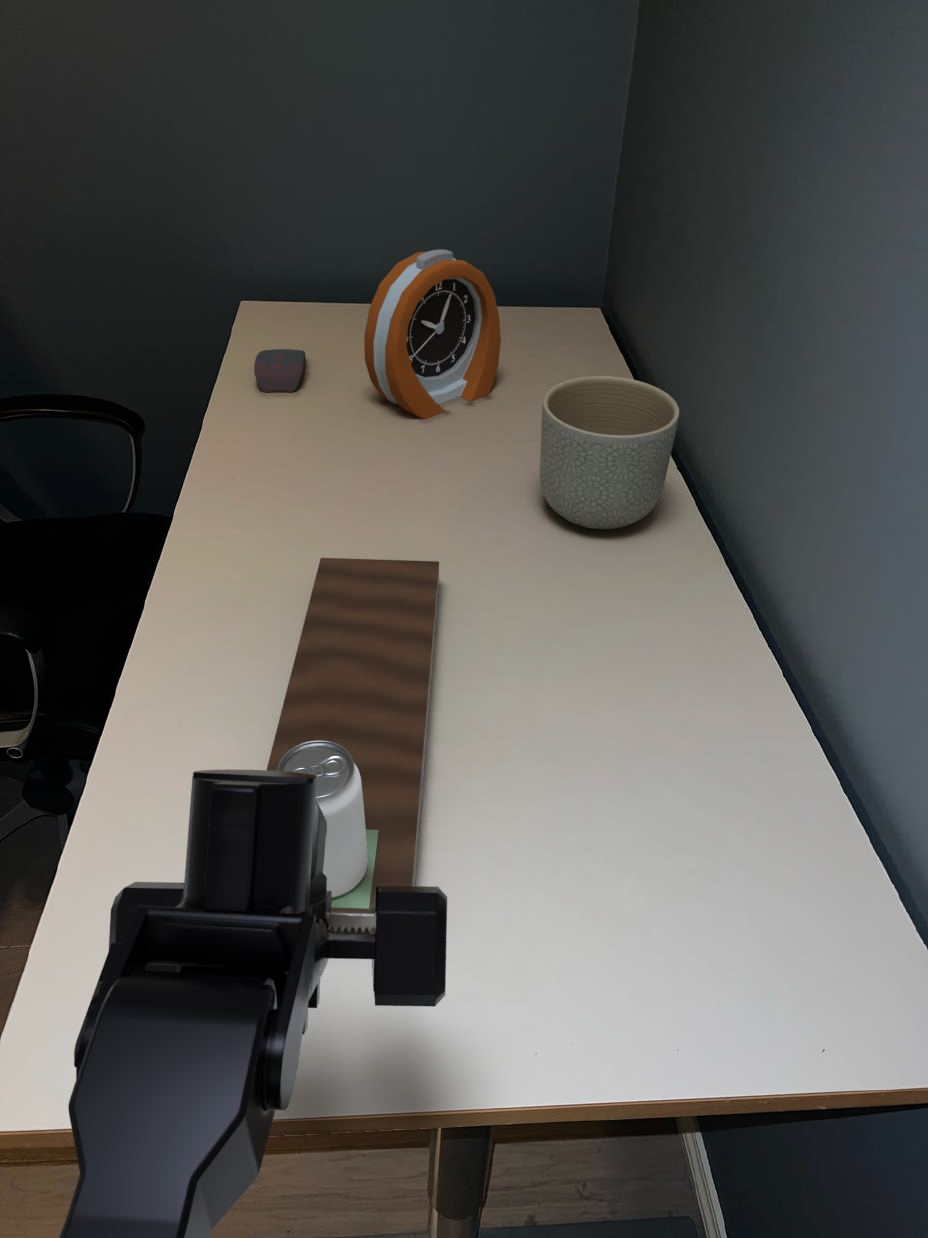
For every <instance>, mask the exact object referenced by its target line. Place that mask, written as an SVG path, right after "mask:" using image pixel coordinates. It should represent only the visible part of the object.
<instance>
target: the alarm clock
mask: <svg viewBox="0 0 928 1238" xmlns="http://www.w3.org/2000/svg"><path fill="white" fill-rule="evenodd" d="M381 280H382V281H380V282H379V285H378V287H377V290H376V292H375V295H374V296H373V299H372V302H371V304H370V306H369V308H368V312H367V313H368V314H367V319H366V325H365V329H364V335H363V341H364V362H365V366H366V370H367V373H368V376H369V379H370V382H371V383H372V385H373V387H374V388H375V390H376V391H377V393H378V394H379V396H381V397H382V398H384V399H385V400H387V401H389V402H391V403H392V404H394V405H396V404H397V405H398V406H399V407H400V408H402V409H403V410H405V411H406V412H408V413H410V414H412V415H414V416H415V417H417V418H419V419H423V420H424V419H425V420H426V419H429V418H432V417H435V416H437V415H440V414H442V413H445V412H446V410H445V409H444V408H443V407H442V406H441V405H440V404H443V403H445V402H448V401H451V400H454V399H457V398H459V397H461V399H464V400H466V401H468V402H473V401H475V400H479V399H481V398H484V397H487V396H489V395H490V392H491V390H492V388H493V386H494V383H495V378H496V374H497V371H498V368H499V362H500V351H501V343H502V342H501V341H502V338H501V322H500V321H501V320H500V313H499V309H498V305H497V301H496V295H495V292H494V290H493V288H492V286H491V284H490V282H489V281H488V279H487V277H486V275H485V273H484V271H483V272H482V271H481V270H480V269H478V268H476V267H475V266H473V265H472V264H471V263H469V262H468V261H465V260H462V259H456V258H455V257H454V253H453V252H452V251H451V250H448V249H432V250H428V251H417V252H416V253H414V254H412V255H410V256H408V257H406V258H403V260H400V261H398V262H397V263H396V264H395V265H394V266H393V267H392V268H391V270H390V271H389V272H388V273H387V275H385V277H384V278H383V279H381Z"/></svg>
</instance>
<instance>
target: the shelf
mask: <svg viewBox="0 0 928 1238" xmlns="http://www.w3.org/2000/svg"><path fill="white" fill-rule="evenodd" d="M439 592H440V561H437V560H435V561H434V560H408V559H378V558H377V559H375V558H374V559H373V558H372V559H371V558H346V557H345V558H343V557H342V558H340V557H336V558H335V557H320V558H319V563H318V567H317V570H316V575H315V577H314V582H313V587H312V590H311V593H310V598H309V602H308V606H307V610H306V614H305V617H304V618H305V619H304V621H303V625H302V629H301V633H300V637H299V641H298V645H297V649H296V652H295V656H294V659H293V660H294V661H293V664H292V669H291V673H290V677H289V680H288V685H287V687H286V691H285V696H284V700H283V704H282V706H281V712H280V716H279V719H278V723H277V727H276V731H275V735H274V739H273V744H272V746H271V750H270V755H269V759H268V762H267V766H266V770H269V771H277V768H278V764H279V762H280V760H281V759H282V757H283V756H284V755H285V754H286V753H287V752H288V751H289V750H290V749H292V748H293V747H295V746H297V745H299V744H302V743H305V742H309V741H315V740H324V741H331V742H334V743H337V744H339V745H341V746H343V747H344V748H345V749H346V750H347V751H348V752H349V753H350V754H351V756H352V758H353V761H354V763H355V765H356V766H357V768H358V770H359V773H360V777H361V783H362V793H363V805H364V816H365V828H366V841H367V854H368V864H367V869H366V872H365V875H364V877H363V878H362V880H361V881H360V882H359V883H358V885H357V886H355V887H354V888H353V889H352V890H350V891H349V892H347V893H345V894H343V895H340V896H337V897H333V898H332V901H331V913H371V905H373V904H374V903H375V892H376V886H416V878H417V877H416V875H417V867H418V866H417V865H418V853H419V851H418V850H419V839H420V825H421V815H422V802H423V790H424V777H425V764H426V752H427V741H428V729H429V727H428V726H429V715H430V703H431V689H432V680H433V679H432V678H433V668H434V667H433V665H434V653H435V642H436V629H437V628H436V627H437V616H438V615H437V614H438V602H439Z"/></svg>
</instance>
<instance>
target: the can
mask: <svg viewBox="0 0 928 1238" xmlns="http://www.w3.org/2000/svg"><path fill="white" fill-rule="evenodd" d="M277 771H285V772H297V773H305V774H311V775H315V776H317V784H316V800H315V801H316V802H317V803H318V805H319V807H320V809H321V811H322V813H323V815H324V817H325V819H326V822H327V833H326V840H325V853H324V866H323V874H324V875H325V876H326V877H327V891H332V898H333V897H337V896H340V895H343V894H345V893H347V892H349V891H350V890H352V889H353V888H354V887H355V886H357V885H358V883H359V882H360V881H361V880H362V878H363V877H364V875H365V872H366V869H367V864H368V854H367V841H366V828H365V816H364V805H363V793H362V783H361V777H360V773H359V770H358V768H357V766H356V765H355V763H354V761H353V758H352V756H351V754H350V753H349V752H348V751H347V750H346V749H345V748H344V747H343V746H341V745H339V744H337V743H334V742H331V741H324V740H315V741H309V742H305V743H302V744H299V745H297V746H295V747H293V748H292V749H290V750H289V751H288V752H287V753H286V754H285V755H284V756H283V757H282V759H281V760H280V762H279V764H278V768H277Z"/></svg>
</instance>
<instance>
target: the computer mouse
mask: <svg viewBox="0 0 928 1238" xmlns="http://www.w3.org/2000/svg"><path fill="white" fill-rule="evenodd" d="M305 367H306V352H305V350H302V349H290V348H274V349H263V350H260V351H259V352H258V353H257V354H256V357H255V359H254V365H253V372H254V377H255V380H256V382H257V384H258V387H259V389H260V390H261V392H263V393H294V392H296V391H297V390H298V389H299V387H300V386H301V384H302V382H303V378H304V373H305V369H306V368H305Z"/></svg>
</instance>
